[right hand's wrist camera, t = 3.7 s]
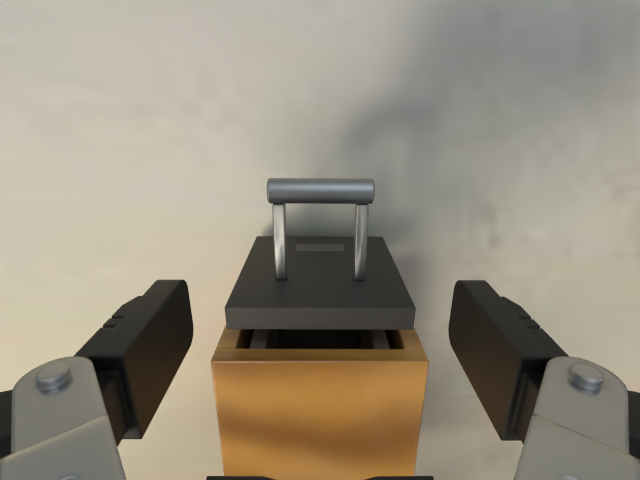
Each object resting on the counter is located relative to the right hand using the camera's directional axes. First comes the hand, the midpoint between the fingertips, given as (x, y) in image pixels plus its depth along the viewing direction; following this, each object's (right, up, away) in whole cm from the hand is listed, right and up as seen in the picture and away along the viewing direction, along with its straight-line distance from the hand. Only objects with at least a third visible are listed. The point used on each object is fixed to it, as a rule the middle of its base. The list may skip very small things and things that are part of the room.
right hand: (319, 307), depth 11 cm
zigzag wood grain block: (0, -8, +20) cm, 21 cm away
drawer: (0, -3, +17) cm, 17 cm away
